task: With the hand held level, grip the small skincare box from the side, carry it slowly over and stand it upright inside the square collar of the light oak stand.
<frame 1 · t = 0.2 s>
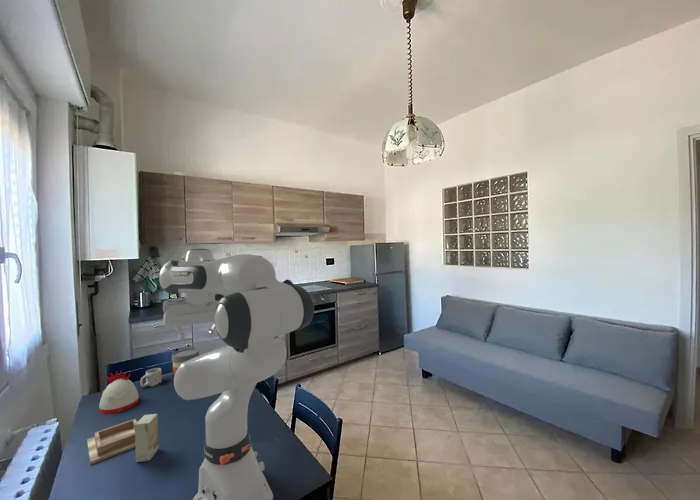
hand: (197, 336, 102), 38 cm above the table, tool pointing down, fingers open, 8 cm apart
kitchen timer: (119, 405, 133), on the table
reusable coffee cup: (186, 381, 155), on the table
skincare box: (147, 455, 99), on the table
oak stand: (118, 441, 107), on the table
mug: (150, 385, 152), on the table
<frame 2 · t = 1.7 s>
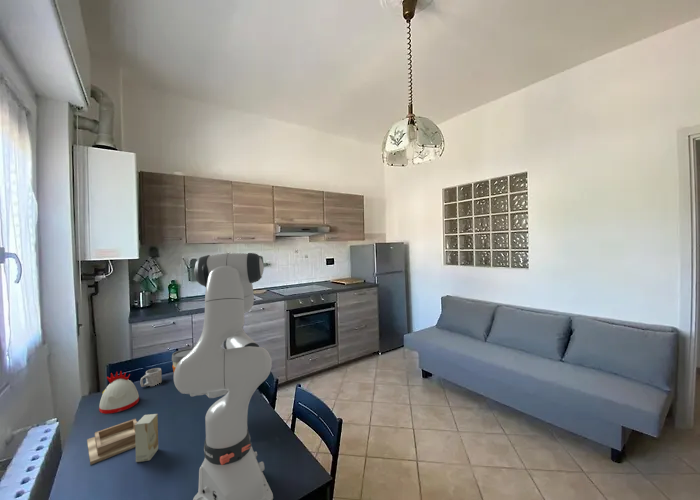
hand: (186, 389, 108), 18 cm above the table, tool horizontal, fingers open, 8 cm apart
nothing on the table moved.
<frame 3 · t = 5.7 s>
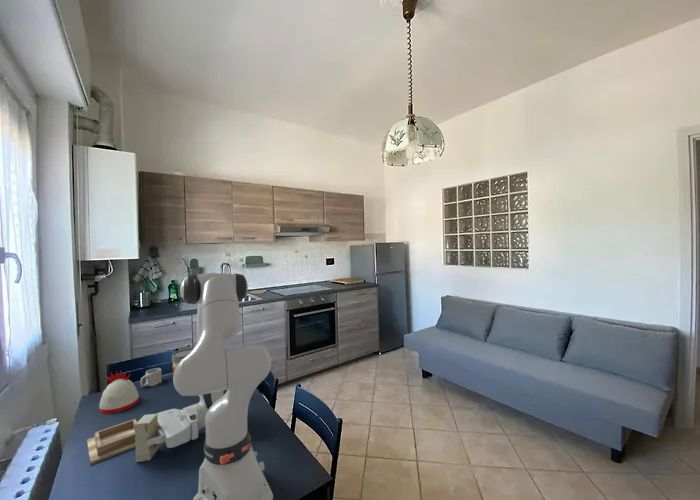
hand: (143, 436, 99), 7 cm above the table, tool horizontal, fingers closed on skincare box, 7 cm apart
skincare box: (147, 455, 99), on the table, touching gripper
everything else where it was.
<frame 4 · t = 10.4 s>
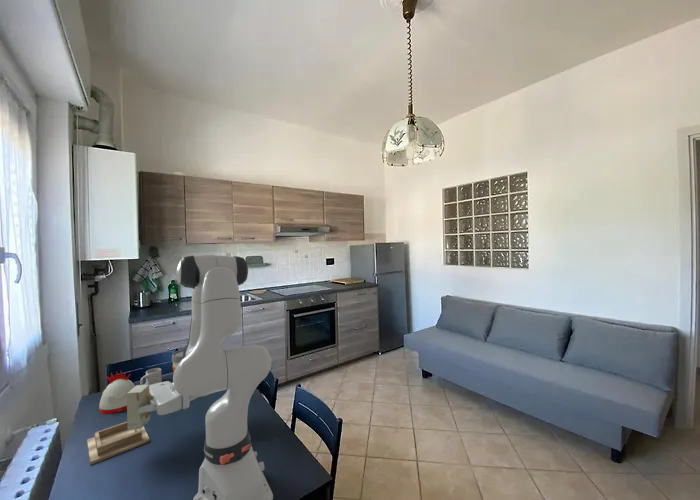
hand: (135, 405, 101), 16 cm above the table, tool horizontal, fingers closed on skincare box, 7 cm apart
skincare box: (139, 424, 101), point 9 cm above the table, touching gripper
everything else where it was.
when the fingers open (9 cm above the table, at t = 15.3 s): skincare box stays where it is, resting on oak stand.
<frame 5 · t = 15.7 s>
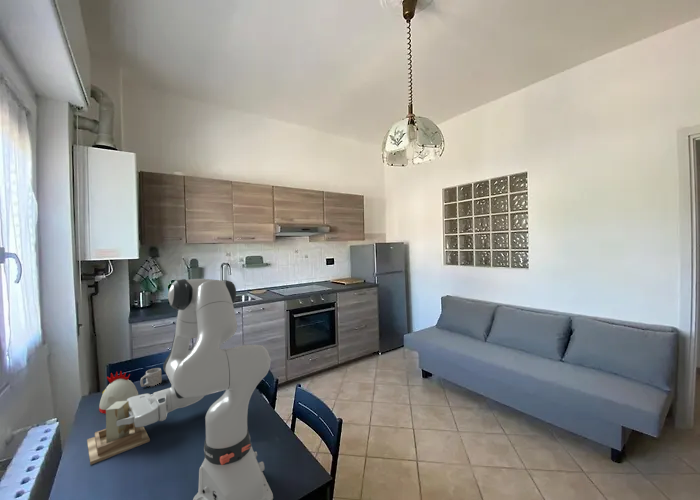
hand: (114, 417, 106), 9 cm above the table, tool horizontal, fingers open, 8 cm apart
skincare box: (118, 439, 107), point 1 cm above the table, touching oak stand
everything else where it was.
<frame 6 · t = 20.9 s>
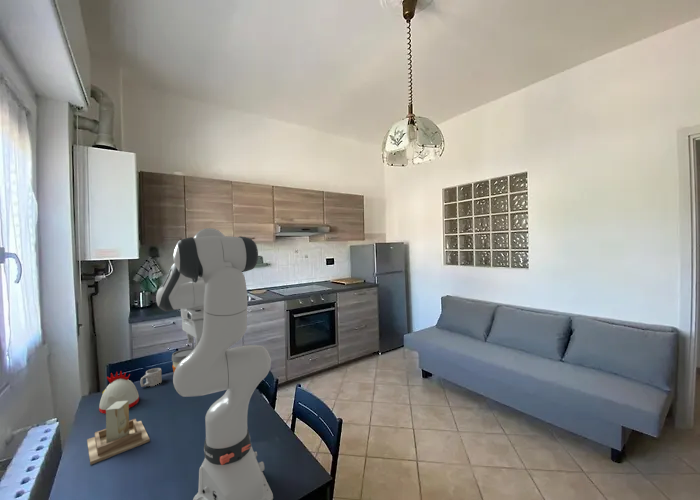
hand: (194, 345, 122), 29 cm above the table, tool pointing down, fingers open, 8 cm apart
nothing on the table moved.
at the end: skincare box 0.1 cm off-centre on the oak stand, point 0.8 cm above the oak stand's base; skincare box tilted 0°; the gripper is holding nothing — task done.
